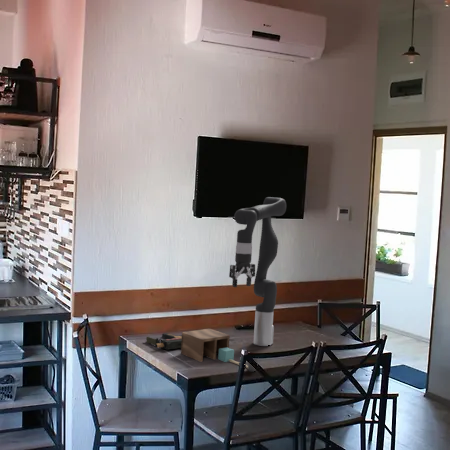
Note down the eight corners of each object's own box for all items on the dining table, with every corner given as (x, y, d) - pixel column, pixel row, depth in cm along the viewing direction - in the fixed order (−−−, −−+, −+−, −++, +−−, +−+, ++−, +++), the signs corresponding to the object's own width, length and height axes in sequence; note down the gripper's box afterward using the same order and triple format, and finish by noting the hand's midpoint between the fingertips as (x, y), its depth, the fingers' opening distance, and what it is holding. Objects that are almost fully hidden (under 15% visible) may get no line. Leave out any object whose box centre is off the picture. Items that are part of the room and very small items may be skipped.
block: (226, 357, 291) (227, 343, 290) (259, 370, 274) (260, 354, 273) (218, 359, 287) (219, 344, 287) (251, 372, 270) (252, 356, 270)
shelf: (208, 349, 304) (209, 328, 303) (228, 356, 293) (229, 335, 292) (180, 353, 293) (182, 332, 293) (200, 361, 282) (201, 339, 281)
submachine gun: (133, 343, 312) (160, 352, 292) (134, 333, 312) (161, 342, 292) (182, 338, 330) (210, 346, 311) (182, 329, 330) (210, 337, 311)
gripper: (249, 250, 300) (247, 284, 301) (226, 251, 291) (224, 286, 292) (260, 252, 294) (258, 286, 295) (237, 253, 285) (235, 288, 286)
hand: (241, 286), depth 294 cm, fingers open, 8 cm apart
